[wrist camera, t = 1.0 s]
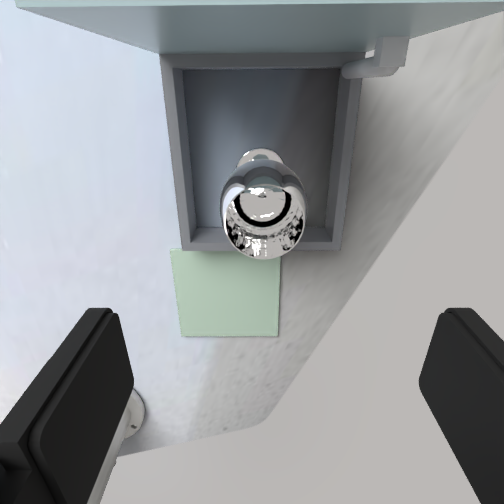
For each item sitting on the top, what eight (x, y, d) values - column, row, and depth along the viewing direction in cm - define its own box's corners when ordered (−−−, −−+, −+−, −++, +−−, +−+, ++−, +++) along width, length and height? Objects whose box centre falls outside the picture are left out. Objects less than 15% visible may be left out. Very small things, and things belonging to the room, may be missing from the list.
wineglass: (218, 187, 30) (198, 244, 19) (245, 127, 28) (240, 154, 17) (274, 213, 31) (284, 281, 20) (304, 158, 29) (334, 201, 18)
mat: (277, 333, 38) (277, 336, 37) (182, 334, 38) (181, 336, 38) (280, 248, 33) (280, 250, 32) (170, 248, 33) (169, 250, 33)
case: (332, 234, 32) (414, 391, 16) (189, 235, 32) (120, 392, 16) (354, 37, 25) (553, -58, 8) (168, 39, 25) (1, -51, 8)
